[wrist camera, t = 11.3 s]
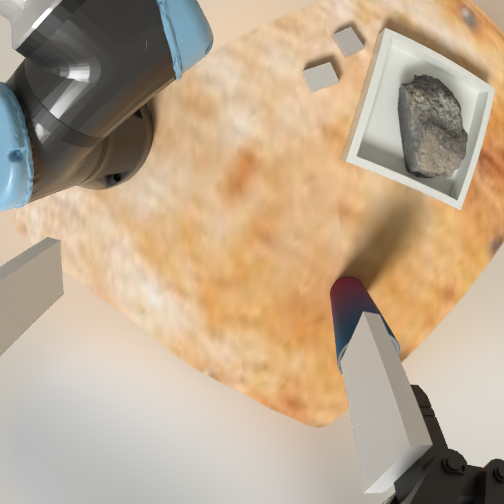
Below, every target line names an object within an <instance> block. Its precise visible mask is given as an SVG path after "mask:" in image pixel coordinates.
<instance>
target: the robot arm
mask: <svg viewBox="0 0 504 504" xmlns="http://www.w3.org/2000/svg"><path fill="white" fill-rule="evenodd" d="M0 14H1V15H2V16H3V17H5V18H6V19H8V20H9V21H10V24H11V26H12V48H13V49H14V50H16V51H17V52H19V53H20V54H22V55H23V56H24V57H26V58H25V59H24V61H23V62H22V63H21V64H20V66H19V67H18V68H17V69H16V71H15V72H14V74H13V75H12V76H11V77H10V79H9V80H8V81H7V82H6V83H3V82H0V211H5V210H9V209H13V208H20V207H23V206H24V205H25V204H27V203H30V202H32V201H35V200H37V199H40V198H43V197H45V196H48V195H51V194H53V193H56V192H59V191H62V190H64V189H67V188H70V187H73V186H80V187H84V188H88V189H94V190H102V189H108V188H111V187H114V186H117V185H120V184H122V183H124V182H126V181H127V180H129V179H130V178H131V177H133V176H134V175H135V174H136V173H137V172H138V171H139V169H140V168H141V167H142V165H143V164H144V162H145V160H146V158H147V156H148V153H149V150H150V147H151V142H152V134H153V127H152V119H151V115H150V112H149V109H148V107H147V105H146V102H148V101H149V100H150V99H151V98H153V97H154V96H155V95H156V94H158V93H159V92H160V91H161V90H163V89H164V88H165V87H167V86H168V85H169V84H170V83H172V82H173V81H174V80H176V81H178V80H179V79H180V78H181V77H182V74H183V73H184V72H186V71H187V70H188V69H189V68H191V67H192V66H193V65H195V64H196V63H197V62H198V61H200V60H201V59H202V58H204V57H205V56H206V55H207V54H208V53H209V51H210V50H211V48H212V45H213V34H212V30H211V28H210V26H209V24H208V21H207V19H206V17H205V15H204V14H203V11H202V9H201V8H200V6H199V4H198V2H197V0H0ZM63 294H64V292H63V280H62V265H61V242H60V240H57V239H53V238H50V237H47V238H45V239H44V240H42V241H40V242H39V243H37V244H36V245H34V246H32V247H31V248H29V249H28V250H26V251H24V252H23V253H21V254H20V255H18V256H17V257H15V258H13V259H12V260H10V261H9V262H7V263H6V264H4V265H3V266H1V267H0V356H1V355H2V354H3V353H4V352H5V351H6V350H7V349H8V348H9V347H10V346H11V345H12V344H13V343H14V342H15V341H16V340H17V339H18V338H19V337H20V336H21V335H22V334H23V333H24V332H25V330H27V329H28V328H29V327H30V326H31V325H32V324H33V323H34V322H35V321H36V320H37V319H38V318H39V317H40V316H41V315H42V314H43V313H44V312H45V311H46V310H47V309H48V308H49V307H50V306H51V305H53V304H54V303H55V302H56V301H57V300H58V299H59V298H60V297H61V296H62V295H63ZM340 364H341V369H342V373H343V378H344V383H345V388H346V393H347V399H348V404H349V409H350V414H351V420H352V426H353V431H354V437H355V442H356V449H357V455H358V461H359V468H360V475H361V481H362V488H363V493H375V492H376V493H377V492H385V491H386V490H387V489H388V488H389V487H390V486H391V485H392V484H394V486H395V491H396V492H395V493H394V494H393V495H392V496H391V497H390V498H388V499H387V500H386V501H385V502H383V503H382V504H504V461H503V460H501V459H494V460H491V461H490V462H489V463H488V464H487V465H486V466H485V467H484V468H482V467H477V466H471V465H467V462H466V460H465V459H464V457H463V456H462V455H461V454H459V453H458V452H457V451H455V450H452V449H448V447H447V444H446V441H445V439H444V436H443V434H442V431H441V428H440V426H439V423H438V421H437V418H436V417H435V414H434V411H433V409H432V408H431V404H430V402H429V399H428V397H427V395H426V394H425V393H424V392H423V390H422V389H421V388H420V387H419V386H418V385H410V383H409V381H408V378H407V376H406V374H405V371H404V369H403V366H402V364H401V361H400V359H399V357H398V354H397V352H396V350H395V348H394V345H393V343H392V341H391V338H390V336H389V334H388V332H387V330H386V327H385V325H384V323H383V321H382V319H381V316H380V314H375V313H369V312H364V311H363V313H362V315H361V317H360V320H359V322H358V324H357V327H356V329H355V331H354V333H353V336H352V338H351V340H350V342H349V344H348V347H347V349H346V351H345V353H344V355H343V357H342V359H341V361H340Z"/></svg>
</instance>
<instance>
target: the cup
mask: <svg viewBox="0 0 504 504" xmlns="http://www.w3.org/2000/svg"><path fill="white" fill-rule="evenodd" d="M330 298H331V306H332V315H333V324H334V333H335V342H336V352H337V363H338V368H339V371H340V372H341V374H342V375H343V373H342V369H341V364H340V361H341V359H342V357H343V355H344V353H345V351H346V349H347V347H348V344H349V342H350V340H351V338H352V336H353V333H354V331H355V329H356V327H357V324H358V322H359V320H360V317H361V315H362V313H363V311H364V312H369V313H375V314H380V316H381V319H382V321H383V323H384V325H385V327H386V330H387V332H388V334H389V336H390V338H391V341H392V343H393V345H394V348H395V350H396V352H397V354H398V357H399V356H400V346H399V343H398V341H397V340H396V338H395V336H394V335H393V333H392V331H391V330H390V328H389V326H388V325H387V323H386V321H385V320H384V318H383V316H382V315H381V313H380V311H379V310H378V308H377V306H376V305H375V303H374V302H373V300H372V298H371V297H370V295H369V294H368V292H367V290H366V289H365V287H364V286H363V284H362V283H361V281H359V280H358V279H356V278H354V277H344V278H341V279H339V280H338V281H336V282H335V283H334V285H333V286H332V288H331V291H330Z"/></svg>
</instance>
